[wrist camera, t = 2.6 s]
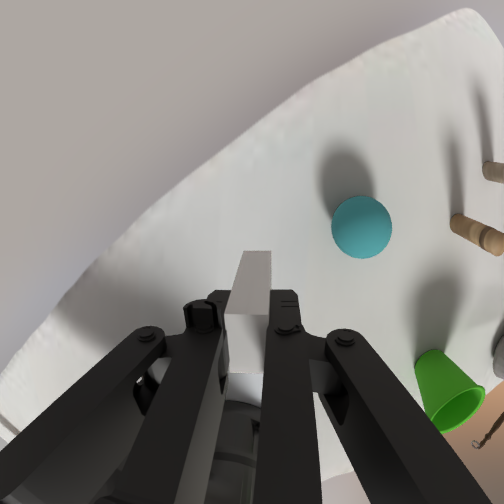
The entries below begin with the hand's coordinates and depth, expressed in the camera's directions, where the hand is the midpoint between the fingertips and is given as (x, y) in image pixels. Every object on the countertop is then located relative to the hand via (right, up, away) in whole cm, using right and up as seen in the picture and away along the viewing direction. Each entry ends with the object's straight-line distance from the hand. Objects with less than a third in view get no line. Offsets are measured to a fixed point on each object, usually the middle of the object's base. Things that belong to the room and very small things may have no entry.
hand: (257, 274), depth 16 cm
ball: (+10, +4, +10) cm, 15 cm away
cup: (+26, -15, +19) cm, 36 cm away
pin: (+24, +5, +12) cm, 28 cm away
